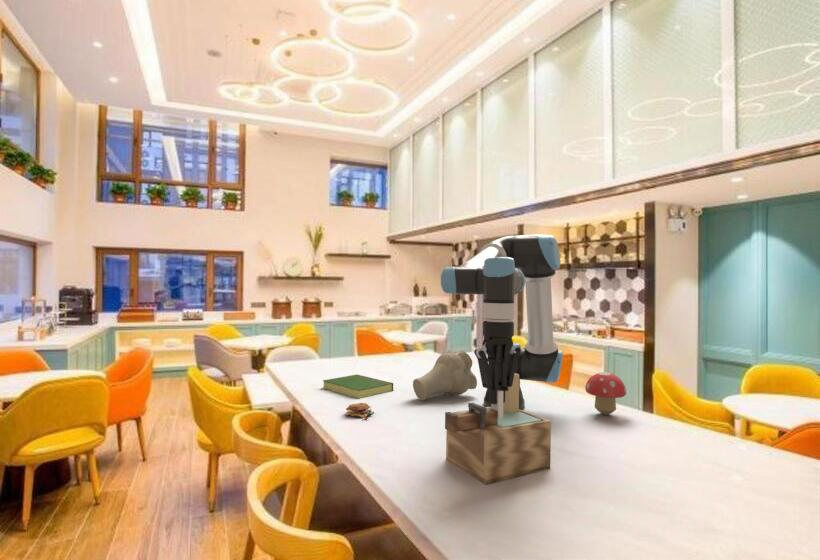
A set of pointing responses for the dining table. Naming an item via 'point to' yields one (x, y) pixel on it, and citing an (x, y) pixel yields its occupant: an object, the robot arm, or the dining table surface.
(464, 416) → the block
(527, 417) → the lid
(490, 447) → the toolbox
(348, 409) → the hamburger
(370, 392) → the hardcover book
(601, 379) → the decorative mushroom
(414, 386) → the beige knobby lump
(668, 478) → the dining table surface
